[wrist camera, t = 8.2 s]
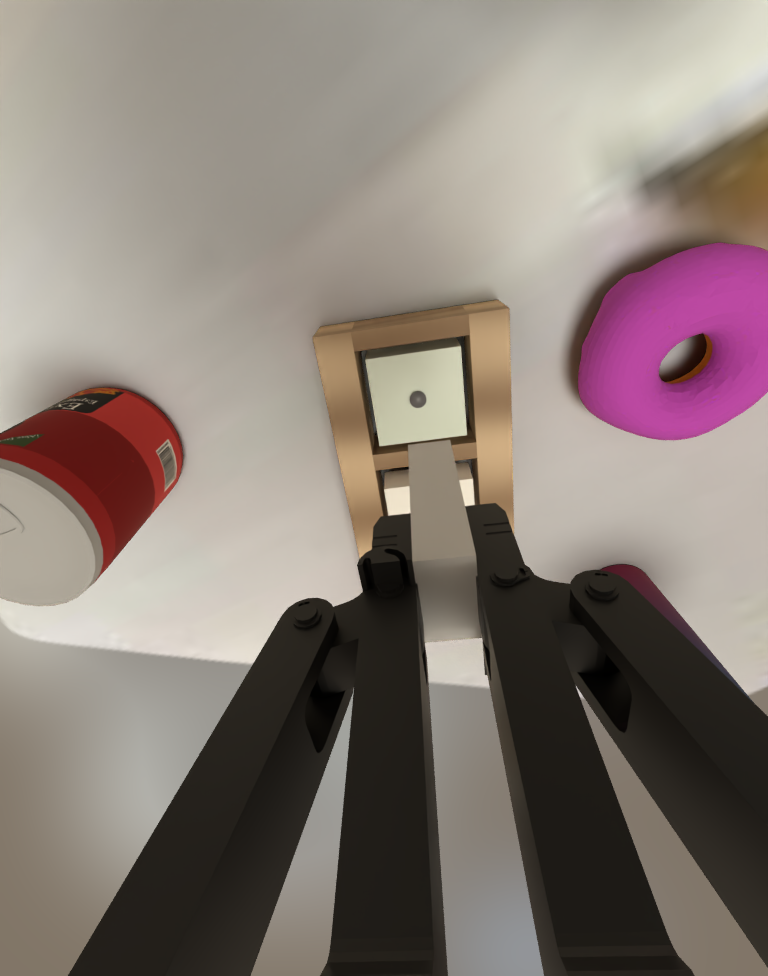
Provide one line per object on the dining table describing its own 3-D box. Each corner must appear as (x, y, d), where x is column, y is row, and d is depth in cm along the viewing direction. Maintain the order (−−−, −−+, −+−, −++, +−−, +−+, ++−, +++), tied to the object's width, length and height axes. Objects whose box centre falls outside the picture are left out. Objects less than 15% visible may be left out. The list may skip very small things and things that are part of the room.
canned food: (113, 357, 28) (-32, 427, 19) (212, 455, 31) (132, 558, 22) (39, 430, 31) (-123, 524, 21) (138, 514, 34) (36, 630, 24)
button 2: (384, 472, 29) (384, 491, 27) (467, 462, 28) (473, 480, 26) (396, 539, 31) (396, 561, 29) (472, 531, 31) (478, 552, 29)
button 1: (367, 350, 27) (364, 360, 25) (456, 337, 26) (461, 346, 24) (380, 432, 29) (379, 447, 27) (462, 421, 29) (467, 436, 27)
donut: (543, 399, 29) (567, 427, 25) (625, 214, 24) (669, 213, 20) (695, 440, 30) (741, 472, 26) (802, 270, 25) (877, 279, 22)
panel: (320, 326, 27) (312, 337, 25) (497, 299, 26) (509, 308, 24) (379, 613, 38) (377, 642, 35) (507, 600, 37) (515, 629, 34)
